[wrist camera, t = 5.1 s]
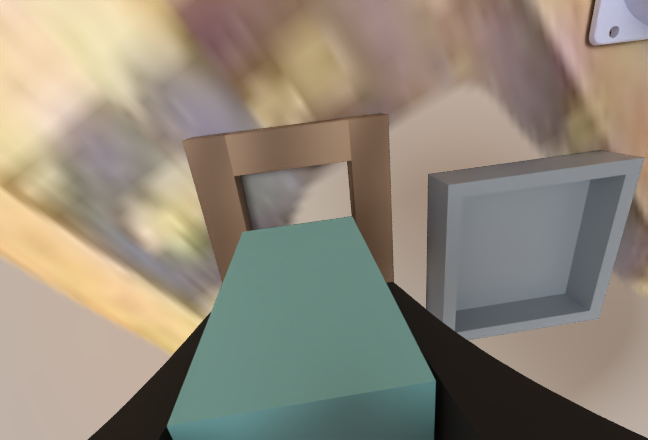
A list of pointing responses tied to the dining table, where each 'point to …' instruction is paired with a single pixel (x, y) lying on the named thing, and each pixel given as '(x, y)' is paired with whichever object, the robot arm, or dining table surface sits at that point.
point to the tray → (526, 241)
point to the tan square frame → (293, 152)
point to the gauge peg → (305, 347)
